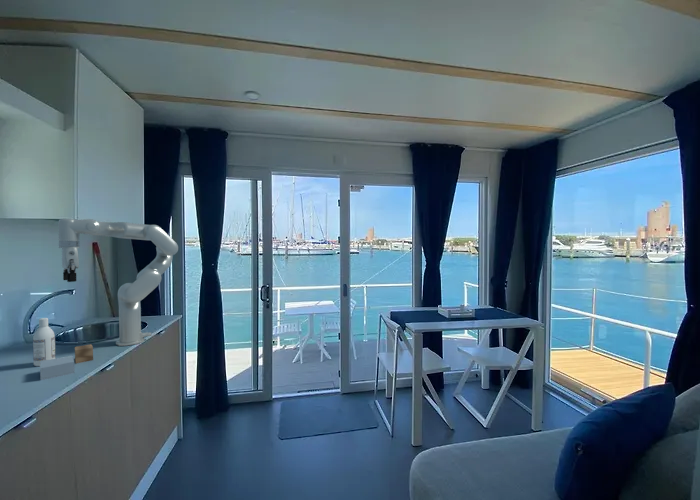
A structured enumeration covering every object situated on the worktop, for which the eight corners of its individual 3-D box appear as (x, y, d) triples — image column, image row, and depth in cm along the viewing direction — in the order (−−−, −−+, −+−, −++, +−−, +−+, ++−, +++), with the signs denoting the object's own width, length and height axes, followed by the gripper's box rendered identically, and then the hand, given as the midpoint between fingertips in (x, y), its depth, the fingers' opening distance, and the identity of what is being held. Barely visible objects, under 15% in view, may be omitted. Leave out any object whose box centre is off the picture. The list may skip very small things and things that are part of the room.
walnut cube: (91, 356, 150) (91, 344, 149) (93, 360, 145) (92, 347, 145) (75, 360, 145) (74, 347, 145) (75, 363, 141) (75, 350, 141)
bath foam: (50, 359, 145) (49, 316, 145) (58, 362, 143) (57, 317, 142) (30, 365, 139) (29, 319, 139) (38, 367, 136) (37, 321, 136)
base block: (72, 366, 138) (72, 355, 138) (74, 373, 131) (74, 361, 131) (40, 373, 131) (40, 361, 131) (40, 381, 124) (40, 368, 124)
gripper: (83, 245, 149) (84, 281, 150) (75, 244, 160) (76, 278, 161) (62, 245, 144) (62, 283, 144) (55, 244, 155) (56, 280, 155)
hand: (69, 280), depth 152 cm, fingers open, 9 cm apart
